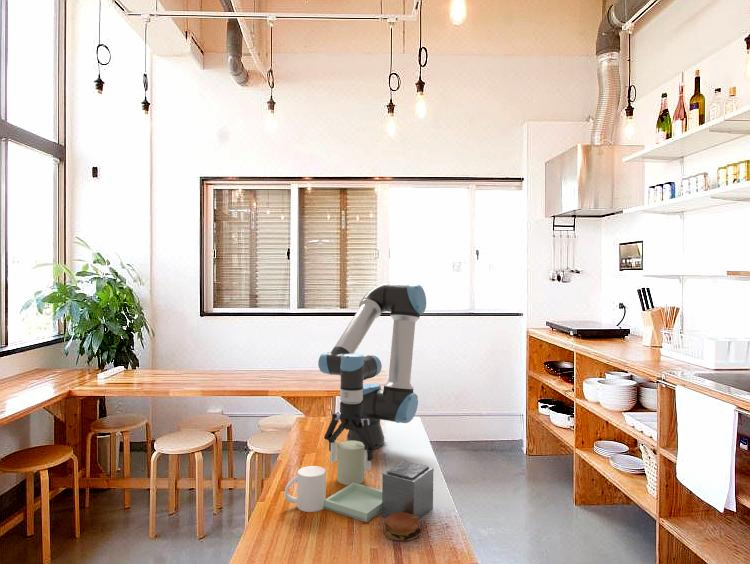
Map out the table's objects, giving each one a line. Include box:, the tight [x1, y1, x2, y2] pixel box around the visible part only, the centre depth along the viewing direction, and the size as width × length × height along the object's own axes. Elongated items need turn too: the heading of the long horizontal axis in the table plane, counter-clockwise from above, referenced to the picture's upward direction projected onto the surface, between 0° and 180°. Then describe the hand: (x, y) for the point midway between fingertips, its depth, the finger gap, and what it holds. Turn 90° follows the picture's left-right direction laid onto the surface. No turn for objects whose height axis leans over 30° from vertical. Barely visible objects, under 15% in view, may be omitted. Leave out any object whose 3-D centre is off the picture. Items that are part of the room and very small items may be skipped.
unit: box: [381, 460, 434, 522], centre depth 148 cm, size 12×10×13 cm
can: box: [336, 440, 366, 486], centre depth 171 cm, size 9×9×12 cm
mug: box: [283, 465, 327, 513], centre depth 151 cm, size 8×10×12 cm
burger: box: [383, 512, 422, 542], centre depth 136 cm, size 10×9×5 cm
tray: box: [323, 482, 382, 523], centre depth 152 cm, size 15×15×2 cm
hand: (350, 465), depth 171 cm, fingers open, 13 cm apart
